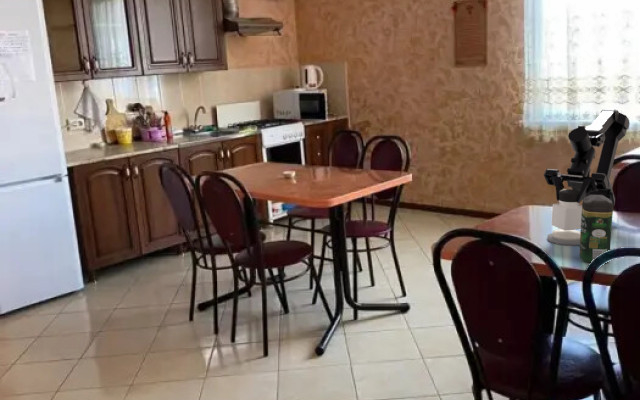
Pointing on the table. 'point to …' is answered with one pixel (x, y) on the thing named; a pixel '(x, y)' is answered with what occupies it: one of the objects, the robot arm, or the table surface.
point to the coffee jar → (595, 226)
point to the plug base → (569, 243)
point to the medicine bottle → (567, 211)
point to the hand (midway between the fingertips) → (567, 201)
